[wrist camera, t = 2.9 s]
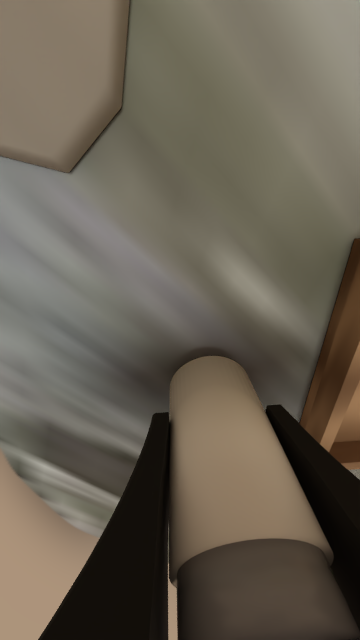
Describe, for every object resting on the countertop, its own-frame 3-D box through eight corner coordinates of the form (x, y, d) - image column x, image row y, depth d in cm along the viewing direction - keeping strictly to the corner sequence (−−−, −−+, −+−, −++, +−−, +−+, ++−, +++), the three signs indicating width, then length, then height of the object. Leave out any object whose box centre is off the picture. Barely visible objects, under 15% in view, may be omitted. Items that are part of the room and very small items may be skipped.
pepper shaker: (245, 413, 13) (339, 663, 6) (172, 418, 13) (174, 678, 6) (252, 353, 11) (409, 617, 4) (166, 358, 11) (160, 637, 4)
